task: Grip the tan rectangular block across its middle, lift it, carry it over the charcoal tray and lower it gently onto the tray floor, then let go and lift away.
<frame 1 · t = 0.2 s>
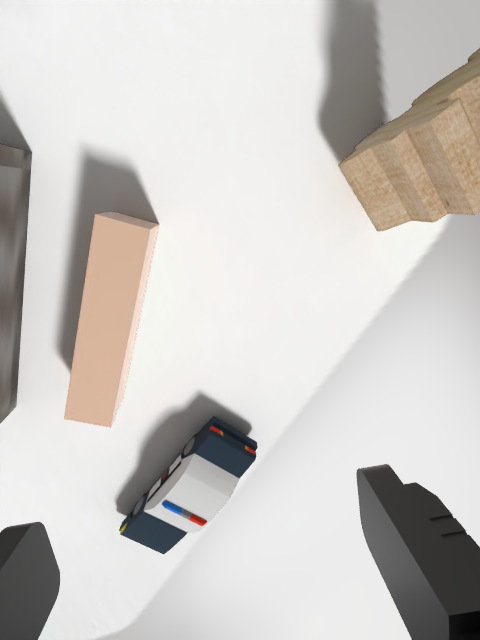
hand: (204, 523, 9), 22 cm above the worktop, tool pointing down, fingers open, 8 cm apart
tan rectangular block: (119, 312, 30), on the worktop
toy car: (187, 474, 36), on the worktop
toy train: (437, 127, 27), on the worktop
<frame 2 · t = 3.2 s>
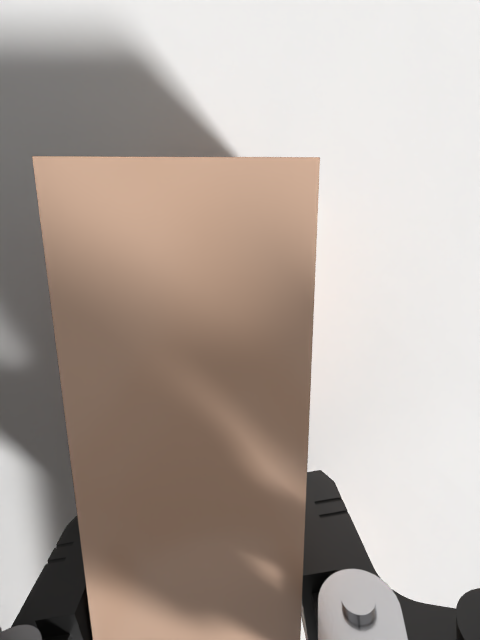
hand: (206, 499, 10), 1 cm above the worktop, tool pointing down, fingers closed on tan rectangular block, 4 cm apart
tan rectangular block: (208, 478, 11), on the worktop, touching gripper
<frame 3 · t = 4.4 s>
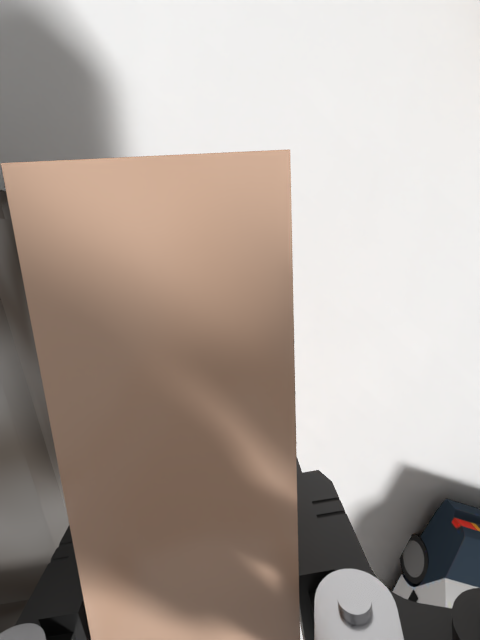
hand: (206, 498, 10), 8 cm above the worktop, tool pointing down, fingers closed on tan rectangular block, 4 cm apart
tan rectangular block: (208, 478, 11), point 7 cm above the worktop, touching gripper
toy car: (409, 600, 22), on the worktop
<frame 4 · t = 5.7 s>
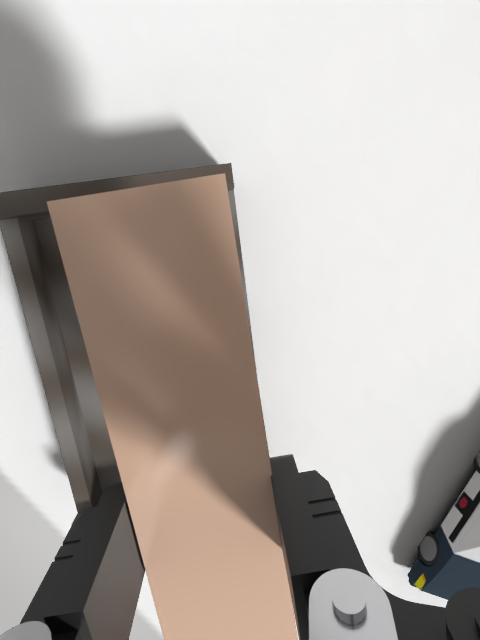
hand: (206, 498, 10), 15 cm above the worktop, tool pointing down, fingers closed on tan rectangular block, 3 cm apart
charcoal tray: (157, 351, 25), on the worktop
tan rectangular block: (212, 428, 13), point 12 cm above the worktop, touching gripper
toy car: (473, 498, 29), on the worktop
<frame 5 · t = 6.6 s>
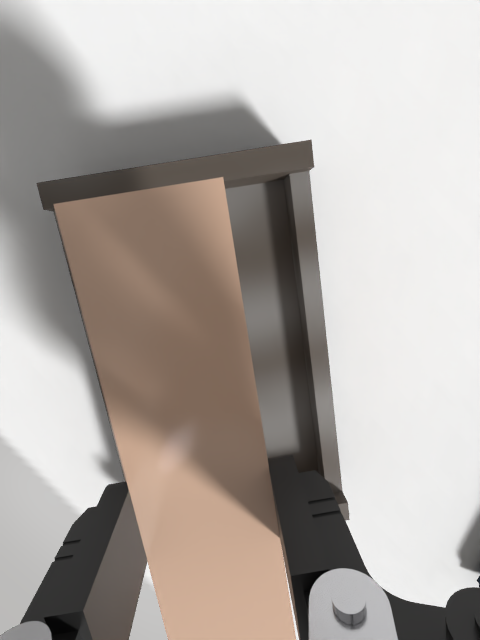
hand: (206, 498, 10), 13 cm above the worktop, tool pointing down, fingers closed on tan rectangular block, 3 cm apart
charcoal tray: (215, 350, 23), on the worktop
tan rectangular block: (211, 424, 14), point 9 cm above the worktop, touching gripper
when the fingers open (5 cm above the worktop, at t = 7.8 s): tan rectangular block stays where it is, resting on charcoal tray.
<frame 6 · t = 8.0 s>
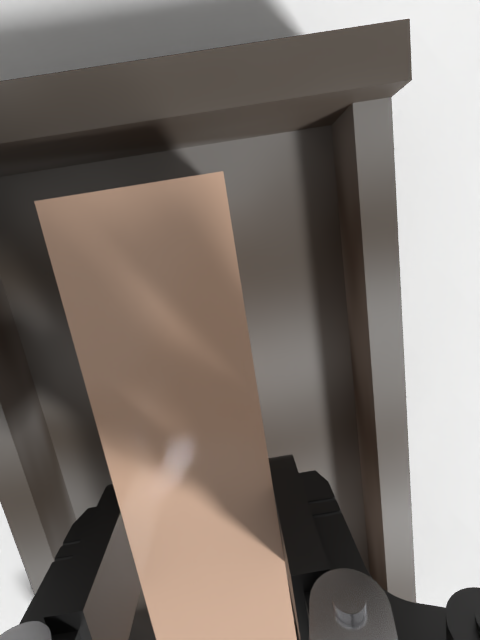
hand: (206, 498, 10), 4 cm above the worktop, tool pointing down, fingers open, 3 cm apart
charcoal tray: (208, 416, 14), on the worktop
tan rectangular block: (210, 433, 13), point 1 cm above the worktop, touching charcoal tray, gripper
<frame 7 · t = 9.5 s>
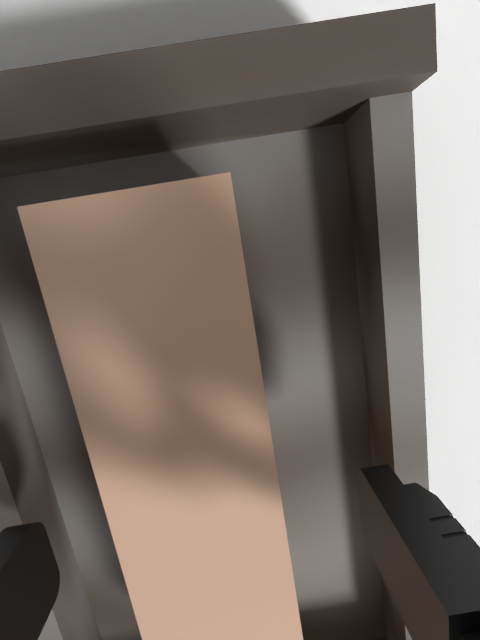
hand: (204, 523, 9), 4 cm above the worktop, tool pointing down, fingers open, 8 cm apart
charcoal tray: (211, 432, 13), on the worktop
tan rectangular block: (214, 452, 12), point 1 cm above the worktop, touching charcoal tray
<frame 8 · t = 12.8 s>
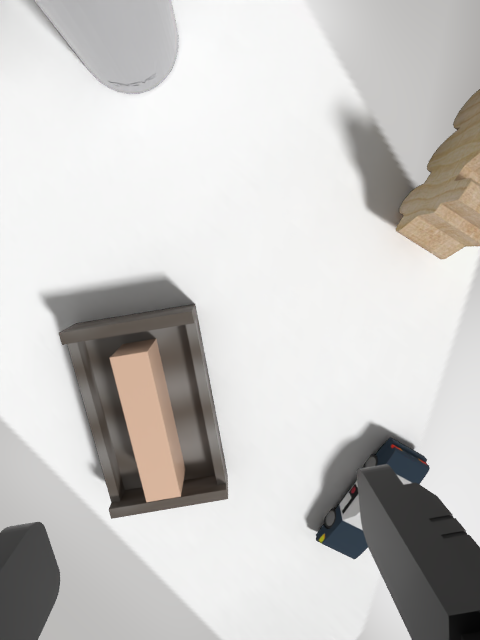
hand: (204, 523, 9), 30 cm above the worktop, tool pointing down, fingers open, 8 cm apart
charcoal tray: (156, 404, 40), on the worktop
tan rectangular block: (155, 409, 39), point 1 cm above the worktop, touching charcoal tray
toy car: (363, 489, 45), on the worktop
toy train: (450, 172, 37), on the worktop
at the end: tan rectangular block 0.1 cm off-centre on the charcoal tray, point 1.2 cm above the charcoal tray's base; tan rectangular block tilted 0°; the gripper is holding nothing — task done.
